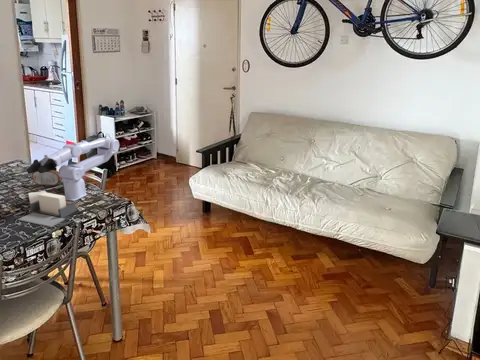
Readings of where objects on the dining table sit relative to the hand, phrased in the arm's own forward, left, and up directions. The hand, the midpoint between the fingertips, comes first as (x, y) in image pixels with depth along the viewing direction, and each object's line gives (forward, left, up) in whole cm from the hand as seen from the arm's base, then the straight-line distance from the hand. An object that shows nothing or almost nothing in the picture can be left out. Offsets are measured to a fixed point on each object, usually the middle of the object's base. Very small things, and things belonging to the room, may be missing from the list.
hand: (33, 171), depth 194 cm
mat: (+6, +7, -19) cm, 21 cm away
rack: (-3, +5, -19) cm, 20 cm away
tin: (-29, -24, -19) cm, 42 cm away
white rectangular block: (-3, +5, -19) cm, 20 cm away
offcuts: (-10, +5, -19) cm, 22 cm away
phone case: (-12, -13, -20) cm, 26 cm away
